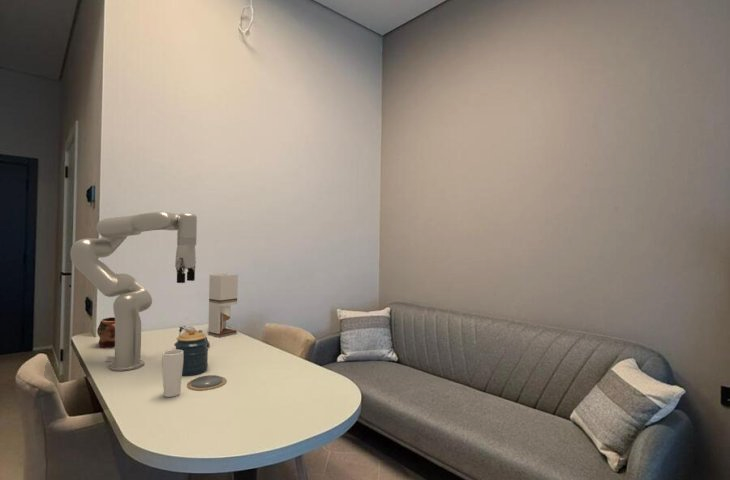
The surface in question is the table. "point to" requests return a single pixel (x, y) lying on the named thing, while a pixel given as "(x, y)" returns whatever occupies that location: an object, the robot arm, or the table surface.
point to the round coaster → (206, 382)
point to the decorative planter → (107, 332)
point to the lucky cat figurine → (186, 330)
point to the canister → (193, 352)
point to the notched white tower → (221, 303)
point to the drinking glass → (172, 372)
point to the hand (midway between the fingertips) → (185, 281)
